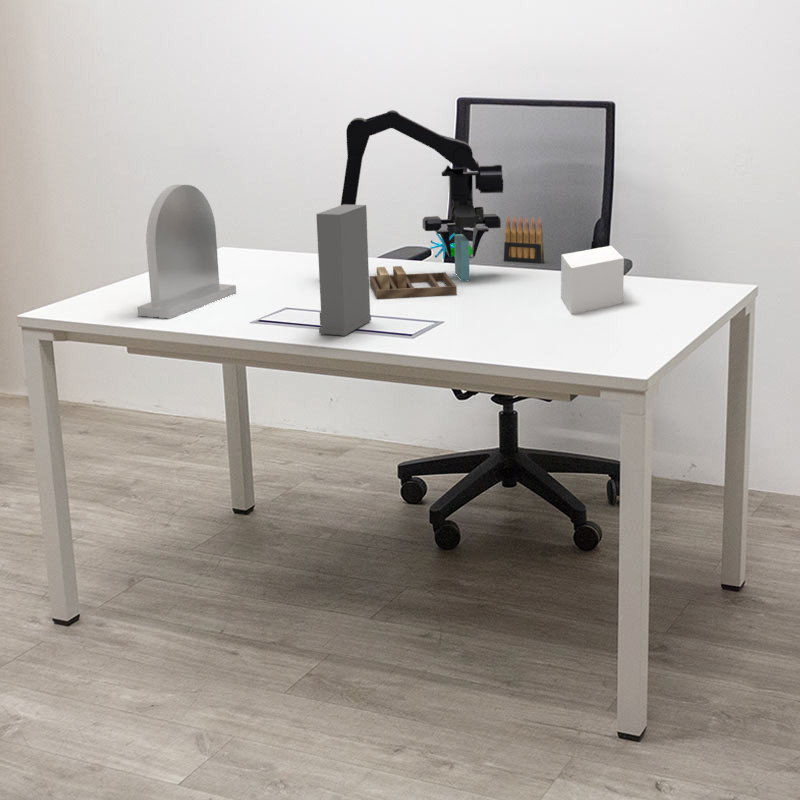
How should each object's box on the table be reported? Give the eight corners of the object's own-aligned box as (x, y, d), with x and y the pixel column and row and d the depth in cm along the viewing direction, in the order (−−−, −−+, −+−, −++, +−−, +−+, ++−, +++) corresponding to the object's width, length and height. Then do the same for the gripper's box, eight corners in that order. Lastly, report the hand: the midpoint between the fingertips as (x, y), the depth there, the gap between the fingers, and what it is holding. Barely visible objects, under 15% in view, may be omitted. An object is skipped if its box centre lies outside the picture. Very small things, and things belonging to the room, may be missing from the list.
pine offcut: (381, 296, 293) (380, 275, 291) (377, 287, 302) (376, 267, 301) (389, 295, 293) (389, 274, 291) (385, 287, 302) (384, 266, 301)
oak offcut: (398, 295, 293) (397, 274, 292) (393, 286, 303) (393, 266, 301) (406, 294, 293) (406, 273, 292) (401, 286, 303) (401, 266, 301)
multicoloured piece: (425, 251, 335) (435, 226, 337) (427, 261, 342) (437, 236, 344) (466, 264, 333) (477, 239, 335) (468, 274, 340) (478, 249, 342)
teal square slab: (461, 281, 306) (460, 241, 303) (455, 273, 315) (454, 234, 313) (469, 281, 306) (468, 240, 303) (462, 273, 316) (462, 234, 313)
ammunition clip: (503, 261, 330) (503, 215, 326) (506, 260, 331) (506, 214, 328) (541, 263, 325) (541, 217, 322) (544, 262, 327) (544, 216, 323)
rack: (377, 299, 289) (376, 290, 288) (370, 284, 306) (369, 276, 305) (456, 294, 291) (456, 286, 290) (445, 280, 308) (445, 272, 307)
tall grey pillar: (345, 319, 270) (340, 204, 262) (371, 321, 268) (367, 204, 260) (318, 334, 257) (312, 213, 250) (345, 336, 255) (340, 214, 248)
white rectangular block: (539, 312, 272) (539, 266, 269) (580, 286, 297) (581, 244, 294) (603, 317, 266) (604, 270, 263) (640, 290, 290) (641, 247, 288)
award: (205, 291, 303) (196, 177, 295) (236, 293, 299) (228, 178, 291) (136, 316, 279) (124, 192, 271) (169, 319, 275) (158, 193, 267)
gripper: (427, 199, 296) (429, 264, 301) (504, 196, 298) (505, 261, 303) (421, 194, 307) (422, 256, 312) (496, 190, 309) (496, 253, 313)
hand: (461, 257), depth 310 cm, fingers open, 6 cm apart
